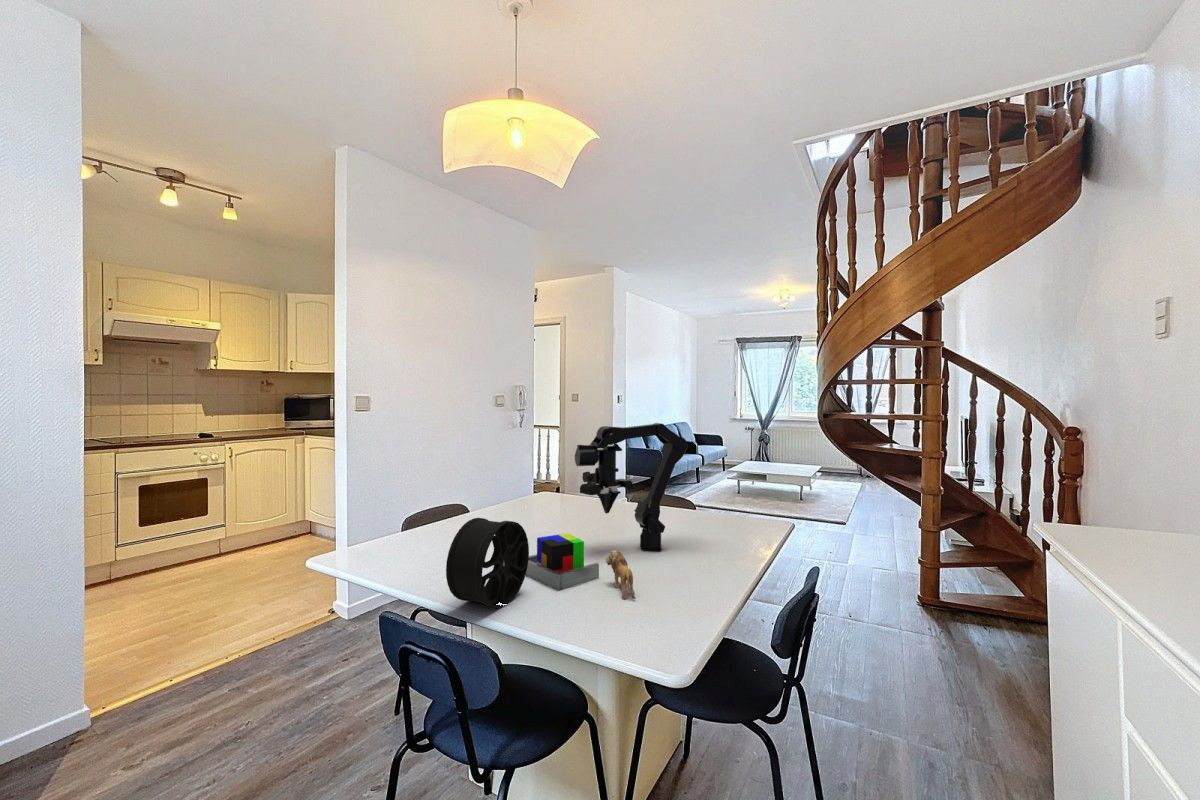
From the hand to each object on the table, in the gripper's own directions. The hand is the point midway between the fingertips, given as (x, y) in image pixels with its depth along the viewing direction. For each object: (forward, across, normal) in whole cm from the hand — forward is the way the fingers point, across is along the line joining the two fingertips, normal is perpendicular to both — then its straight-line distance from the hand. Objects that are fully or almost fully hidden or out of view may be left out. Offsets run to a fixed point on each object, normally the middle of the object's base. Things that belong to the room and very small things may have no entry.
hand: (606, 513), depth 163 cm
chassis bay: (+13, +24, +6) cm, 28 cm away
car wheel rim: (+13, +48, +10) cm, 51 cm away
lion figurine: (+13, +18, +26) cm, 34 cm away
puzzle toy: (+13, +23, +6) cm, 27 cm away
